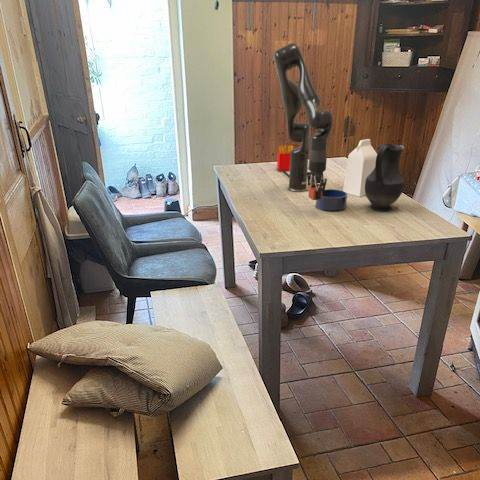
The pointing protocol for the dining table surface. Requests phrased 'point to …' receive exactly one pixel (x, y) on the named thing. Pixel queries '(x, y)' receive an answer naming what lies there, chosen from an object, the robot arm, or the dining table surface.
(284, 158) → the french fries container
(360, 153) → the milk
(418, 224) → the dining table surface
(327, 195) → the bowl
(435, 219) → the dining table surface
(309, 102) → the robot arm
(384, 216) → the dining table surface
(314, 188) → the block
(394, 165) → the pitcher
